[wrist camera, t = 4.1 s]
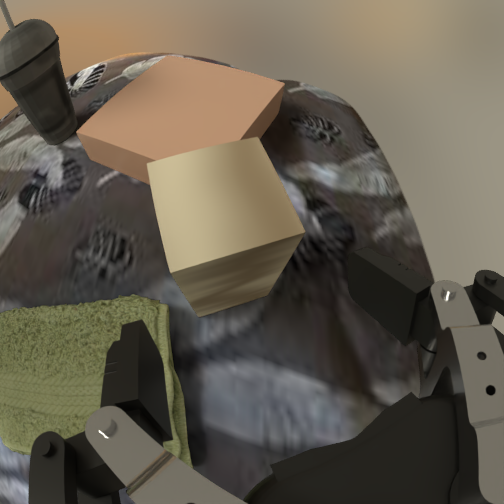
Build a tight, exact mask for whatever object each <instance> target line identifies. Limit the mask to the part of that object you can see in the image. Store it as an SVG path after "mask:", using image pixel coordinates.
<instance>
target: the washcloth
mask: <svg viewBox="0 0 504 504" xmlns="http://www.w3.org/2000/svg"><path fill="white" fill-rule="evenodd" d="M159 302H160V300H155V301H154V300H151V299H148V298H147V297H140V296H138V295H135V294H133V295H131V296H126V297H125V296H121V295H119V297H118V298H117V299H113V300H100V301H96V302H92V303H88V302H86V303H84V304H82V303H81V302H80V304H79V305H73V304H72V305H67V304H65V305H59V306H51V307H49V306H44V305H43V306H40V307H36V308H35V307H34V308H29V309H27V308H26V307H21V308H20V309H18V308H13V310H12V311H11V310H8V311H5V312H3V313H0V436H1V438H2V441H3V444H4V445H5V446H7V447H8V448H9V449H10V450H12V451H13V452H18V453H20V454H23V455H24V454H27V455H31V449H32V445H33V443H34V441H35V440H36V438H37V437H38V436H39V435H40V434H42V433H44V432H47V431H53V432H56V433H58V434H59V435H60V436H61V437H63V438H64V439H67V438H69V437H72V436H74V435H76V434H79V433H81V432H83V431H85V426H86V423H87V420H88V419H89V417H90V416H91V415H92V414H93V413H94V412H95V411H96V410H98V409H100V404H101V394H102V385H103V376H104V375H105V374H104V369H105V366H106V364H105V362H106V355H107V352H108V350H109V348H110V347H111V345H112V343H113V342H114V341H118V340H120V335H121V328H122V325H123V324H126V323H130V322H133V321H137V320H141V319H142V320H143V321H144V322H145V324H146V326H147V328H148V330H149V332H150V334H151V336H152V338H153V340H154V342H155V344H156V346H157V348H158V350H159V352H160V354H161V357H162V360H163V364H164V373H165V383H166V392H167V400H168V408H169V416H170V423H171V429H172V436H173V440H171V441H166V442H163V446H164V449H165V450H167V451H168V452H171V453H172V454H173V455H175V456H176V457H177V458H179V459H180V460H181V461H183V462H184V463H185V464H187V465H188V466H189V467H191V468H192V469H193V468H194V467H193V465H192V463H191V458H190V451H189V447H188V440H187V426H186V416H185V406H184V396H183V393H182V390H181V385H180V382H179V379H178V376H177V374H176V372H175V370H174V364H173V356H172V350H171V340H170V331H169V306H168V305H167V304H160V303H159Z"/></svg>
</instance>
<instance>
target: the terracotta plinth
mask: <svg viewBox="0 0 504 504" xmlns="http://www.w3.org/2000/svg"><path fill="white" fill-rule="evenodd" d="M284 86H285V83H282V82H279V81H276V80H273V79H269V78H266V77H263V76H260V75H257V74H253V73H249V72H246V71H242V70H238V69H234V68H230V67H226V66H222V65H218V64H213V63H208V62H204V61H198V60H193V59H187V58H181V57H175V56H168V55H167V56H166V57H164V58H163V59H162V60H160V61H159V62H157V63H156V64H154V65H153V66H152V67H150V68H149V69H147V70H146V71H145V72H143V73H142V74H141V75H139V76H138V77H137V78H136V79H134V80H133V81H132V82H130V83H129V84H128V85H127V86H126V87H124V88H123V89H122V90H121V91H119V92H118V93H117V94H116V95H115V96H114V97H112V98H111V99H110V100H109V101H108V102H107V103H106V104H105V105H103V106H102V107H101V108H100V109H99V110H98V111H97V112H96V113H95V114H94V115H93V116H92V117H91V118H90V119H89V120H88V121H87V122H85V123H84V124H83V125H82V127H81V128H80V129H79V130H78V131H77V132H76V133H77V135H78V137H79V139H80V141H81V143H82V145H83V147H84V149H85V150H86V152H87V154H88V156H89V158H90V160H93V161H95V162H97V163H100V164H102V165H104V166H107V167H109V168H112V169H114V170H116V171H119V172H121V173H123V174H126V175H128V176H130V177H133V178H135V179H137V180H140V181H142V182H144V183H147V184H149V185H150V180H149V174H148V169H147V163H150V162H153V161H157V160H160V159H164V158H167V157H171V156H175V155H178V154H182V153H186V152H190V151H194V150H198V149H202V148H206V147H210V146H215V145H219V144H224V143H229V142H233V141H238V140H243V139H249V138H254V137H258V138H259V140H260V138H261V137H262V136H263V134H264V133H265V131H266V130H267V128H268V127H269V126H270V124H271V123H272V121H273V120H274V119H275V117H276V116H277V115H278V113H279V109H280V104H281V100H282V95H283V90H284Z"/></svg>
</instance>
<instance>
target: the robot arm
mask: <svg viewBox="0 0 504 504" xmlns="http://www.w3.org/2000/svg"><path fill="white" fill-rule="evenodd" d="M348 290H349V293H350V295H351V297H352V299H353V300H354V301H355V302H356V303H357V304H359V305H360V306H361V307H362V308H363V309H364V310H365V311H367V312H368V313H369V314H370V315H371V316H372V317H373V318H374V319H376V320H377V321H378V322H379V323H380V324H381V325H382V326H383V327H385V328H386V329H387V330H388V331H389V332H390V333H391V334H392V335H394V336H395V337H396V338H397V339H398V340H399V341H400V342H401V343H402V344H403V345H405V346H407V345H408V344H410V343H411V342H413V341H414V340H417V341H418V345H417V354H418V363H419V373H420V394H419V398H417V397H416V396H415V395H414V394H413V393H412V392H411V393H409V394H408V395H407V396H405V397H404V398H402V399H401V400H399V401H398V402H396V403H395V404H393V405H392V406H390V407H389V408H387V409H386V410H384V411H383V412H382V413H381V414H380V415H379V416H378V417H377V418H376V419H375V420H374V421H373V422H372V423H371V424H370V425H368V426H367V427H366V428H365V429H364V430H363V431H362V432H361V433H360V434H359V435H358V436H356V437H355V438H353V439H351V440H348V441H344V442H340V443H336V444H332V445H328V446H324V447H319V448H315V449H310V450H308V451H305V452H303V453H301V454H298V455H296V456H293V457H291V458H288V459H285V460H283V461H280V462H277V463H275V464H272V465H270V466H271V468H272V470H273V474H271V475H269V476H268V477H266V478H265V479H264V480H262V481H261V482H260V483H258V484H257V485H256V486H255V487H254V488H253V489H252V490H251V491H250V492H249V493H248V495H247V496H246V497H245V498H244V500H243V501H242V500H240V499H238V498H237V497H235V496H233V495H232V494H230V493H228V492H227V491H225V490H223V489H222V488H220V487H219V486H217V485H215V484H214V483H212V482H211V481H209V480H208V479H206V478H205V477H203V476H202V475H201V474H199V473H198V472H196V471H195V470H193V469H192V468H191V467H189V466H188V465H187V464H185V463H184V462H183V461H181V460H180V459H179V458H177V457H176V456H175V455H173V454H172V453H171V452H168V451H167V450H165V449H164V446H163V442H166V441H171V440H173V436H172V429H171V423H170V416H169V408H168V400H167V392H166V383H165V373H164V364H163V360H162V357H161V354H160V352H159V350H158V348H157V346H156V344H155V342H154V340H153V338H152V336H151V334H150V332H149V330H148V328H147V326H146V324H145V322H144V321H143V320H142V319H141V320H137V321H133V322H130V323H126V324H123V325H122V328H121V335H120V340H118V341H114V342H113V343H112V345H111V347H110V348H109V350H108V352H107V355H106V362H105V364H106V366H105V369H104V374H105V375H104V376H103V385H102V394H101V404H100V409H98V410H96V411H95V412H94V413H93V414H92V415H91V416H90V417H89V419H88V420H87V423H86V426H85V431H83V432H81V433H79V434H76V435H74V436H72V437H69V438H67V439H64V438H63V437H61V436H60V435H59V434H58V433H56V432H53V431H47V432H44V433H42V434H40V435H39V436H38V437H37V438H36V440H35V441H34V443H33V445H32V449H31V458H30V471H29V504H121V503H120V497H119V490H120V489H123V488H125V487H127V488H128V489H127V490H126V492H127V494H128V496H129V497H130V498H131V499H132V500H133V501H134V502H135V503H136V504H504V335H503V334H502V333H501V332H499V331H498V330H497V329H496V328H494V327H493V326H492V325H491V324H492V321H493V319H494V316H495V313H496V311H498V312H499V313H500V314H501V315H503V316H504V277H502V276H501V275H499V274H498V273H496V272H494V271H490V270H481V271H479V272H477V273H476V275H475V279H474V284H473V285H470V286H466V287H462V286H461V285H459V284H458V283H456V282H452V281H447V280H446V281H445V280H443V281H438V282H436V283H432V282H431V281H429V280H428V279H426V278H424V277H423V276H421V275H419V274H418V273H416V272H415V271H413V270H411V269H408V267H406V266H405V265H403V264H402V265H401V263H400V262H398V261H396V260H394V259H393V258H390V257H387V256H383V255H380V254H378V253H377V252H375V251H373V250H372V249H370V248H368V247H365V248H362V249H359V250H356V251H354V252H351V253H350V254H349V255H348ZM77 493H78V498H77Z"/></svg>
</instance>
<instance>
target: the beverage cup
mask: <svg viewBox="0 0 504 504" xmlns="http://www.w3.org/2000/svg"><path fill="white" fill-rule="evenodd" d="M0 7H1V9H2V12H3V14H4V17H5V19H6V22H7V24H8V26H9V29H10V30H9V31H8V32H7V33H6V34H5V35H4V37H3V38H2V39H1V41H0V82H1V84H2V86H3V87H4V88H5V89H6V90H7V91H9V92H10V94H11V95H12V97H13V98H14V99H15V101H16V102H17V104H18V105H19V107H20V108H21V110H22V111H23V112H24V114H25V115H26V117H27V118H28V119H29V121H30V122H31V124H32V125H33V126H34V128H35V129H36V130H37V132H38V133H39V134H40V136H41V137H43V139H44V140H45V141H46V142H47V144H49V145H56V144H59V143H61V142H63V141H64V140H66V139H67V138H68V137H69V136H71V134H72V133H73V132H74V131H75V129H76V128H77V124H78V122H77V119H76V116H75V111H74V107H73V104H72V101H71V98H70V94H69V91H68V88H67V84H66V80H65V77H64V73H63V69H62V65H61V61H60V51H59V43H58V40H59V37H58V35H56V33H55V30H54V29H53V27H52V26H51V25H50V24H48V23H47V22H45V21H42V20H38V19H30V20H25V21H23V22H21V23H19V24H18V25H16V26H14V24H13V22H12V20H11V17H10V15H9V12H8V10H7V7H6V4H5V2H4V0H0Z"/></svg>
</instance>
